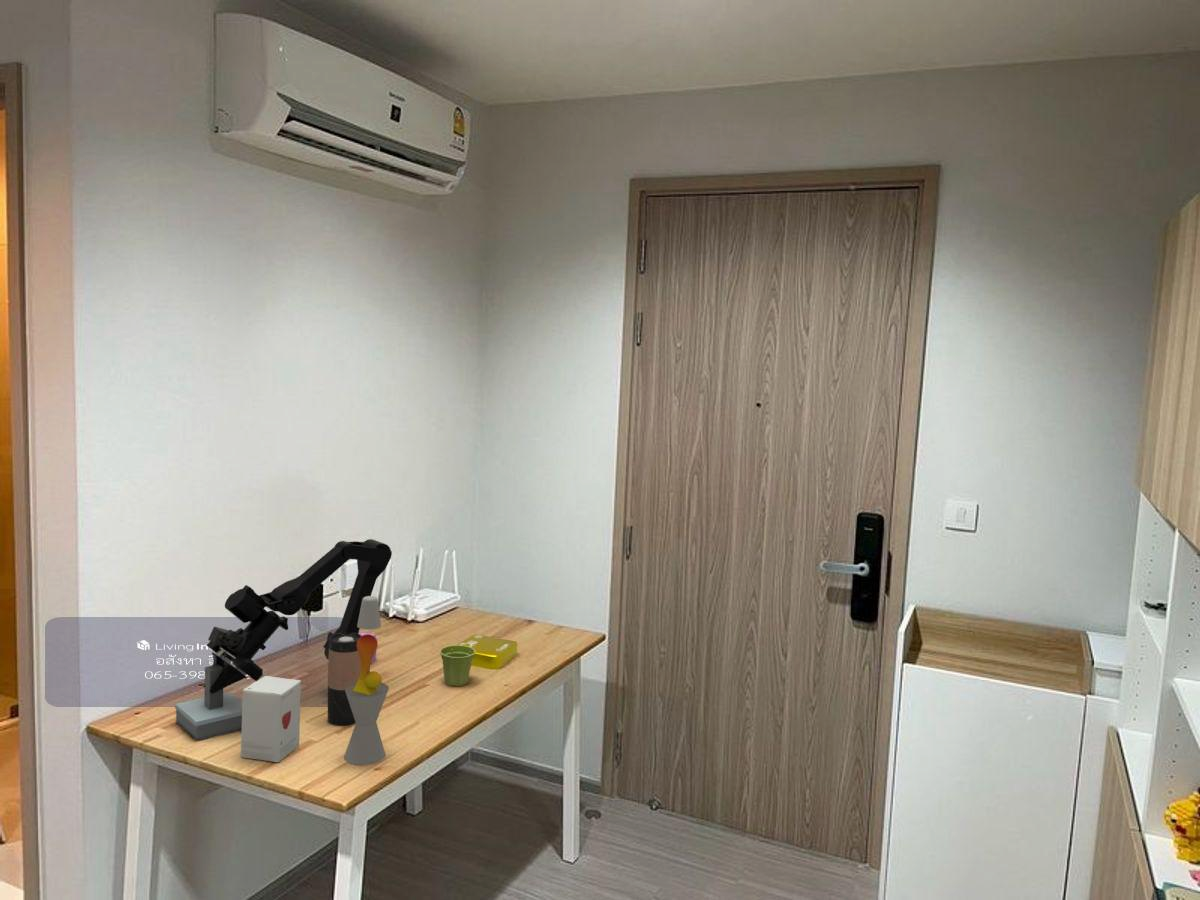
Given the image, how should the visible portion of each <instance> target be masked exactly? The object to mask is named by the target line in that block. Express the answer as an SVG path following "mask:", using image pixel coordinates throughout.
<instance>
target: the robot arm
mask: <svg viewBox="0 0 1200 900" xmlns="http://www.w3.org/2000/svg"><path fill="white" fill-rule="evenodd" d="M392 553H393V552H392V550H391V547H390V546H389V544H386V543H384V542H381V541H379V540H376V539H373V538H369V539H366V540H365V541H356V540H355V541H346V540H345V541H344V540H340V541H338V542H337V543H335V545H334V546H333V547H332V548H331V549H330V550H329V551H328V552H327V553H325V554H324V555H323V556H321V558H319V559H318V560H317V561H316V562H314V563H313V564H312V565H311V566H310V567H309V568H307V569H306V570H305V571H304V572H303V573H301V574H300V575H299V576H297V577H295V578H293V579H290V580H288V581H287V580H286V581H285V582H283V583H281V584H280V585H278V586H277V587H275V588H274V589H272V590H271V591H270V592H267V593H263V594H260V595H259V594H258V593H256V592H255V590H254V589H253V588H252V587H251V586H249V585H244V587H243V588H240V589H237V590H236V591H234V592H233V593H231V594H230V595H229V596H228V598H227V599H226V600H225V603H224V608H225V609H226V610H227V611H228V612H230V613H231V614H232V615H234V617H236V618H237V619H238V620H239V621H240V622H241V623H245V624H246V623H248V624H247V625H246V626H245V627H244V628H241V627H240V628H238V629H237V630H232V629H225V628H222V627H219V626H218V627H217V626H213V628H212V630H211V633H210V634H209V637H208V641H209V642H208V643H207V644H206V647H208V648H209V649H211V651H212V652H211V655H212V658H213V663H212V666H214V665H220V666H221V667H222V668H224V670H223V671H222V673H221V674H220V675H219V677H218V678H217V680H216V681H215V682H214V684H213V685H212V687H211V688H210V690H209V692H211V693H212V694H213V693H215V692H217V691H219V690H221V689H223V690H224V689H225V688H227V687H230V686H231V685H233V684H235V683H238V682H240V681H242V680H247V679H248V677H249V678H251V679H252V680H253V681H254V682H256V681H258V680H260V679H261V678H262V676H263V675H264V674H263V673H264V672H263V671H264V670H263V668H262V667H260V666H259V665H258V664H256V663H255V662H254V660H253V658H254V656H255V655H256V654H257V653H258V652H259V651H260V650H261V651H264V650H266V648H267V646H266V645H265V644H266V643H267V641H268V640H269V639H270V638H271V637H272V636H273V634H274V633H275V632H276V631H277V629H278V628H279V627H280V628H281V629H283V630H285V631H288V630H289V624H288V620H289V618H288V617H286V616H293V615H295V614H297V613H298V612H299V611H300V610H301V608H303V606H304V605H305V604H306V603H307V602H308V600H309V598H310V596H311V593H312V592H313V591H315V589H317V588H318V587H319V586H320V585H322V583H323V582H325V581H326V580H327V579H328V578H329V577H330V576H332V575H333V574H334V573H336V571H337V570H339V569H340V568H341V567H342V566H343V565H345V564H346V563H347V562H348V561H349V560H355V561H356V562H357V563H356V564H357V565H356V566H357V575H356V578H355V581H354V584H353V587H352V590H351V592H350V596H349V598H348V601H347V604H346V608H345V610H344V613H343V616H342V619H341V622H340V625H339V627H338V629H336V630H335V632H334V633H333V632H331V631H329V632H328V634H327V637H326V641H325V643H324V645H323V646H322V647H323V648H324V651H323V652H324V656H325V658H326V660H328V661H329V638H330V636H332V635H334V634H337V633H342V634H344V635H349V634H351V633H357V634H359V632H360V628H358V627H357V624H358V619H359V614H360V609H361V604H362V599H363V598H364V597H366V596H372V593H373V590H374V587H375V584H376V581H377V579H378V577H380V575H382V573H383V572H384V571H385V570H386V568H387V566H388V565H389V563H390V560H391V559H392V555H393V554H392ZM265 608H267V609H268V611H267V610H266V609H265ZM277 612H278V613H281V614H282V616H280V615H278V613H277ZM284 615H285V616H284ZM246 675H248V676H246ZM202 687H203V688H204V689H205V682H204V683H203V685H202Z"/></svg>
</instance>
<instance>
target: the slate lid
mask: <svg viewBox="0 0 1200 900" xmlns="http://www.w3.org/2000/svg"><path fill="white" fill-rule="evenodd" d="M223 670H224V668H222V667H221V666H220V665H214V666H213V665H211V666H206V667H204V683H205V688H204V697H199V698H196V699H192V700H191V699H190V700H186V701H182V702H179V703H175V704H174V709H175V710H176V709H177V710H178V711H179V712H180V713H181V714H182V715H184V716H185V717H186V718H187V719H188V720H189V721H190V722H192V723H193V724H194V725H195V726H200V725H204V724H208V723H212V722H216V721H220V720H224V719H228V718H233V717H237V716H241V715H242V699H240V697H238V696H236V695H235V694H234V693H233V692H231V691H226V692H224V688H223V689H221V690H219V691H217V692H215V693H213V694H212V693H211V692H209V690H210V688H211V687H212V685H213V684H214V682H215V681H216V680H217V678H218V677H219V675H220V674H221V673H222V671H223Z"/></svg>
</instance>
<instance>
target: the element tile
mask: <svg viewBox="0 0 1200 900" xmlns="http://www.w3.org/2000/svg"><path fill="white" fill-rule="evenodd" d="M456 645H463V646H469V647H472V648H474V649H475V651H476V652H475V654H474V656H473V659H472V662H471V666H472V667H477V668H482V669H488V670H499V669H501V668H503V667H504V666H505V665H506V664H508V663H509V662H510V663H511V661H512V660H514V659H515V658H516V657H517V656H518V642H517V641H515V640H510V639H505V638H498V637H493V636H488V635H483V634H482V635H481V634H473V635H470V636H469V637H467V638H465V639H464V640H462V641H461V642H459V643H458V644H456Z"/></svg>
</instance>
